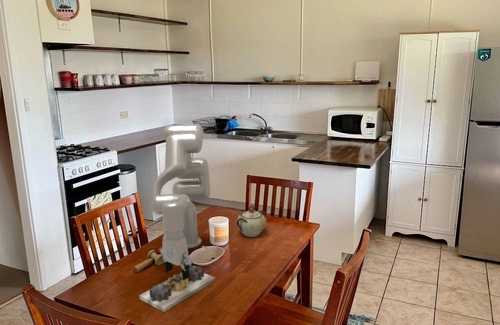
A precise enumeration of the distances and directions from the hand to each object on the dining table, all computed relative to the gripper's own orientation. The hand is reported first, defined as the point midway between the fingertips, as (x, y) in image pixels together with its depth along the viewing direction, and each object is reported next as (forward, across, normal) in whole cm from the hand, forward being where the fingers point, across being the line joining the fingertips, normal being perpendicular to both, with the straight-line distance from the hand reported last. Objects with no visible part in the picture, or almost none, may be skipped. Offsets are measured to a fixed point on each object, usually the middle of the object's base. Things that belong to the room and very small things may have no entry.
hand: (177, 274), depth 152 cm
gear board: (+6, 0, 0) cm, 6 cm away
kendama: (+7, -25, +7) cm, 27 cm away
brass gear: (+5, 0, 0) cm, 5 cm away
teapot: (+6, -10, +58) cm, 59 cm away
